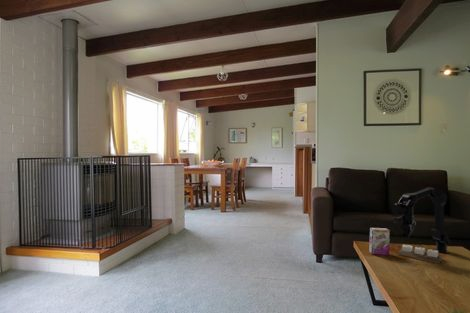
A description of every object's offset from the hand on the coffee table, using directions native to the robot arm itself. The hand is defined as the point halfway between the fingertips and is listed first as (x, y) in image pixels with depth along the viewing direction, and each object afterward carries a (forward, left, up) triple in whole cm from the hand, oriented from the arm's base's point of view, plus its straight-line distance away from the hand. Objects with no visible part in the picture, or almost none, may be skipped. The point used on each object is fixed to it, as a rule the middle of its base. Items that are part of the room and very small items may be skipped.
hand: (407, 237), depth 196 cm
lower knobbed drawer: (0, +14, -8) cm, 16 cm away
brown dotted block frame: (0, +7, -11) cm, 13 cm away
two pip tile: (0, +7, -8) cm, 11 cm away
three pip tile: (0, 0, -8) cm, 8 cm away
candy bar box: (+11, -14, -11) cm, 21 cm away
